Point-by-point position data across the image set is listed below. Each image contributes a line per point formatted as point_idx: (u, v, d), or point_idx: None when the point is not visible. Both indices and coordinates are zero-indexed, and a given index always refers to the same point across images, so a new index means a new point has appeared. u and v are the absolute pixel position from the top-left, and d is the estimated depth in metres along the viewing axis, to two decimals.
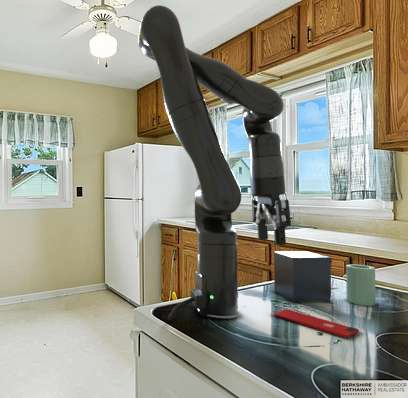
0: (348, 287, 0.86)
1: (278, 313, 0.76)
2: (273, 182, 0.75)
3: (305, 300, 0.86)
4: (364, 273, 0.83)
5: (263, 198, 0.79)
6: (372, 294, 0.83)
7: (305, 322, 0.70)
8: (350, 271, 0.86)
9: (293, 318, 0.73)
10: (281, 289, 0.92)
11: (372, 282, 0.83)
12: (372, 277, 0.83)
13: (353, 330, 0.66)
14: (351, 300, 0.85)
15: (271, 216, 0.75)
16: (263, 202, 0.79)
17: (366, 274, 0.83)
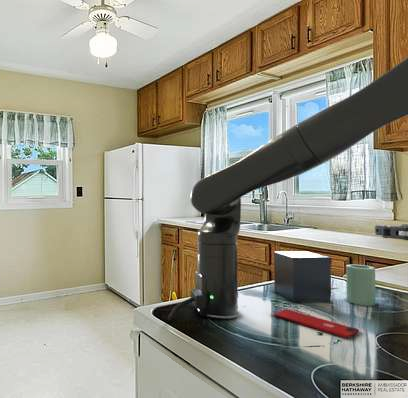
0: (348, 287, 0.86)
1: (278, 313, 0.76)
2: None
3: (305, 300, 0.86)
4: (364, 273, 0.83)
5: None
6: (372, 294, 0.83)
7: (305, 322, 0.70)
8: (350, 271, 0.86)
9: (293, 318, 0.73)
10: (281, 289, 0.92)
11: (372, 282, 0.83)
12: (372, 277, 0.83)
13: (353, 330, 0.66)
14: (351, 300, 0.85)
15: (404, 225, 0.69)
16: None
17: (366, 274, 0.83)
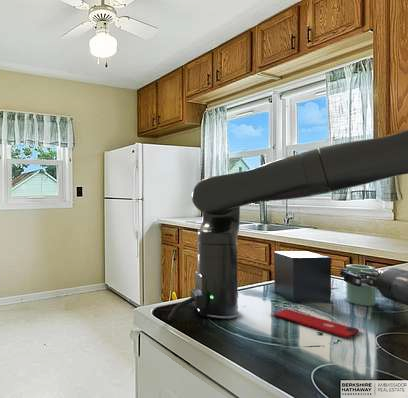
0: (348, 287, 0.86)
1: (278, 313, 0.76)
2: (386, 285, 0.74)
3: (305, 300, 0.86)
4: None
5: None
6: (372, 294, 0.83)
7: (305, 322, 0.70)
8: None
9: (293, 318, 0.73)
10: (281, 289, 0.92)
11: None
12: None
13: (353, 330, 0.66)
14: (351, 300, 0.85)
15: (360, 272, 0.82)
16: None
17: (366, 274, 0.83)
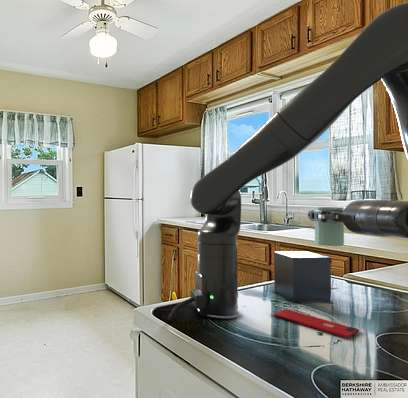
0: (316, 229, 0.82)
1: (278, 313, 0.76)
2: (351, 216, 0.69)
3: (305, 300, 0.86)
4: (331, 212, 0.79)
5: None
6: (340, 234, 0.79)
7: (305, 322, 0.70)
8: None
9: (293, 318, 0.73)
10: (281, 289, 0.92)
11: None
12: None
13: (353, 329, 0.66)
14: (319, 242, 0.81)
15: (326, 210, 0.78)
16: None
17: None
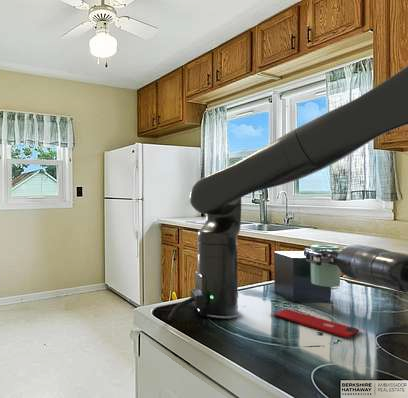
0: (312, 268, 0.81)
1: (278, 313, 0.76)
2: (346, 262, 0.69)
3: (305, 300, 0.86)
4: None
5: None
6: (336, 275, 0.78)
7: (305, 322, 0.70)
8: None
9: (293, 318, 0.73)
10: (281, 289, 0.92)
11: None
12: None
13: (353, 330, 0.66)
14: (315, 282, 0.80)
15: (322, 251, 0.77)
16: None
17: None
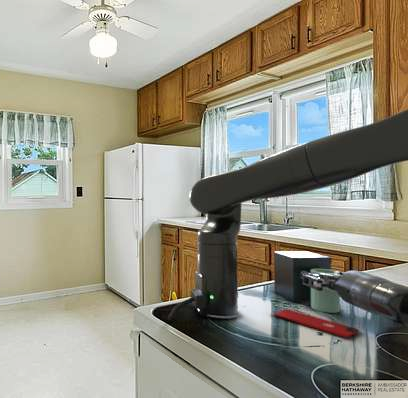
0: (312, 293, 0.81)
1: (278, 313, 0.76)
2: (345, 289, 0.69)
3: (305, 300, 0.86)
4: None
5: None
6: (335, 301, 0.78)
7: (305, 322, 0.70)
8: None
9: (293, 318, 0.73)
10: (281, 289, 0.92)
11: None
12: None
13: (353, 330, 0.66)
14: (314, 307, 0.80)
15: (320, 275, 0.77)
16: None
17: None
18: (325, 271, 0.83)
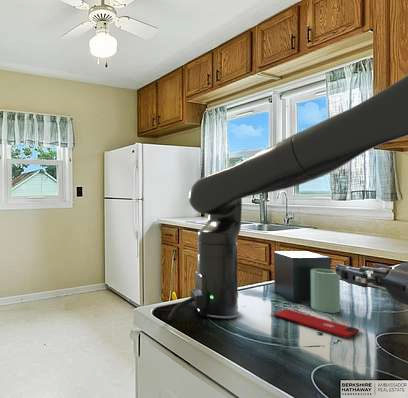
0: (312, 293, 0.81)
1: (278, 313, 0.76)
2: (399, 285, 0.56)
3: (305, 300, 0.86)
4: (327, 278, 0.78)
5: None
6: (335, 301, 0.78)
7: (305, 322, 0.70)
8: (313, 276, 0.81)
9: (293, 318, 0.73)
10: (281, 289, 0.92)
11: (336, 288, 0.78)
12: (336, 282, 0.78)
13: (353, 330, 0.66)
14: (314, 307, 0.80)
15: (363, 268, 0.64)
16: None
17: (329, 279, 0.78)
18: (325, 271, 0.83)
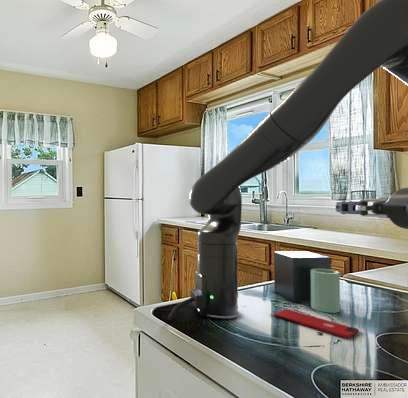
0: (312, 293, 0.81)
1: (278, 313, 0.76)
2: (399, 207, 0.56)
3: (305, 300, 0.86)
4: (327, 278, 0.78)
5: None
6: (335, 301, 0.78)
7: (305, 322, 0.70)
8: (313, 276, 0.81)
9: (293, 318, 0.73)
10: (281, 289, 0.92)
11: (336, 288, 0.78)
12: (336, 282, 0.78)
13: (353, 330, 0.66)
14: (314, 307, 0.80)
15: (363, 200, 0.64)
16: None
17: (329, 279, 0.78)
18: (325, 271, 0.83)
